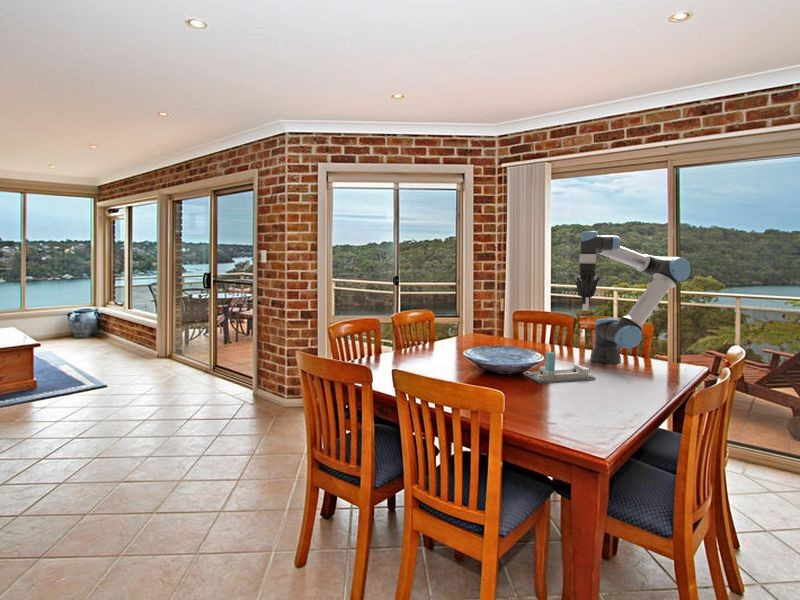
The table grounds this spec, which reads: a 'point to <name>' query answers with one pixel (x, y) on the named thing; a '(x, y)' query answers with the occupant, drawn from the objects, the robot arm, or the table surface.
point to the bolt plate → (534, 376)
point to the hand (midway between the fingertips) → (585, 310)
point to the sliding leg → (549, 364)
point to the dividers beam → (567, 374)
